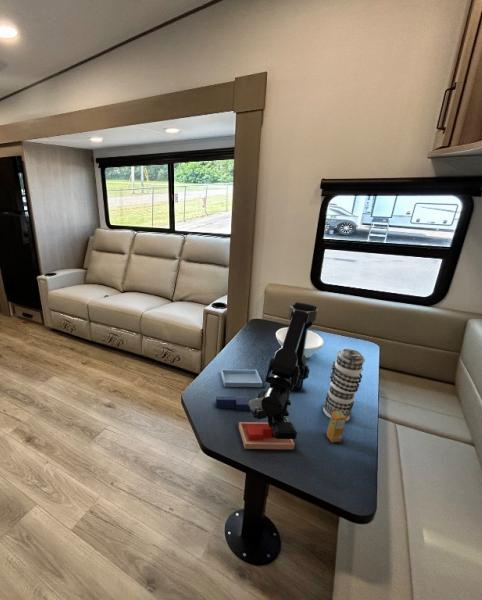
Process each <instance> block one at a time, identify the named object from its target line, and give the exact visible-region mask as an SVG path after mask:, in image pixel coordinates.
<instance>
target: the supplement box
mask: <svg viewBox="0 0 482 600" xmlns="http://www.w3.org/2000/svg"><path fill="white" fill-rule="evenodd" d="M329 418H330V417H329ZM346 422H347V421H346V416H344V415H343V413H342V412H341V411H334V412H332V414H331V418H330V419H329V423H328V427H327V432H326V437H327V438H328V439H329V441H330V443H340V442H342V437H343V433H344V429H345V425H346Z"/></svg>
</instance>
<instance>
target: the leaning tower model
mask: <svg viewBox="0 0 482 600" xmlns="http://www.w3.org/2000/svg"><path fill="white" fill-rule="evenodd" d="M336 355H337V356H336V360H335V361H332V365H331V366H332V367H331V372H330V376H329V378H330V379H329V385H330V386H329V388H328V391H327V393H326V397H325V400H324V404H323V409H322V410H323V413H324V414H325V415H326V417H328V418H331V414H332V412H334V411H341V412H342V413H343V415H344V416H346V422H347V421H349V420H350V417H351V414H352V411H353V407H354V403H355V401H354V399H355V393H357V392H358V391H359V388H360V383H361V382H362V379H363V375H362V374H361V373H362V371H363V370H364V368H363V364H364V363H365V362H366V358H365V357H364V356H363V354H362V353H361V352H359V351H358V350H356V349H352V348H344V349H341V350H339V351H337V354H336Z"/></svg>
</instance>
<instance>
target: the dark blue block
mask: <svg viewBox="0 0 482 600" xmlns="http://www.w3.org/2000/svg"><path fill="white" fill-rule="evenodd" d="M248 402H249V401H248V398H247V397H236V396H219V395H216V396H215V408H220V409H221V408H223V409H225V408H226V409H227V408H228V409H232V408H233V409H235V410H236V411H238V410H242V411H244V410H245V411H247V410H249V403H248Z"/></svg>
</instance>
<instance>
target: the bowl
mask: <svg viewBox="0 0 482 600" xmlns="http://www.w3.org/2000/svg"><path fill="white" fill-rule="evenodd" d="M288 328H289V326H288V327H282V328H279V329H278V330H276V332H275V337H276V339H277V343H278V344H279V345H280V347H281V348H282V346H283V343H284V340H285V337H286V334H287V331H288ZM324 344H325V342H324V339H323V337H322V336H320V335H319V334H317V333H316V332H314V331H311V330H309V329H308V331H307V337H306V343H305V350H304V355H305V357H306V358H307V359H309V358H311V357H312V356H313V354H314V353H316V352H317V351H319V350H320V349H321V348H322V346H323V345H324Z"/></svg>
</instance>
